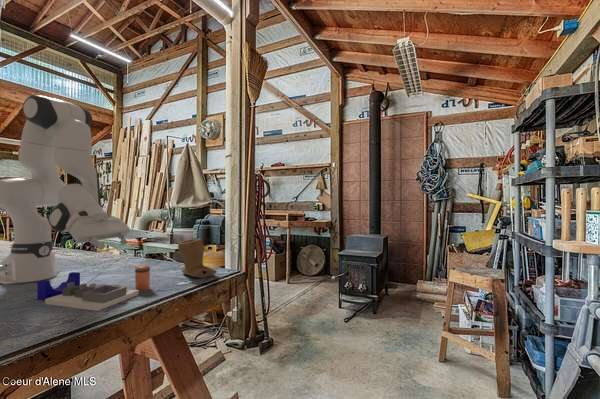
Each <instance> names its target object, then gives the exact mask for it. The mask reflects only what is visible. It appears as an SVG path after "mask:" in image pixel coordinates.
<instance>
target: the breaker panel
mask: <svg viewBox="0 0 600 399" xmlns="http://www.w3.org/2000/svg"><path fill="white" fill-rule="evenodd" d="M136 296H139V290H135V289H133V288H132V289H131V288H128V287H127V286H124V285H121V284H115V285H109V284H102V285H97V283H95V282H92V283H89V284H88V285H87V283H82V284H81V283H80V285H79V286H75V282H71V283H68V284H67V288H64V289H62V294H60V295H57V296H54V297H50V298H47V299H45V301H44V305H49V306H55V307H56V306H58V307H64V308H71V309H80V310H81V309H82V310H86V311H87V310H88V311H95V312H99V311H101V310H103V309H107V308H108V307H112V306H114V305H116V304H119V303H122V302H123V301H127V300H128V299H131V298H134V297H136Z"/></svg>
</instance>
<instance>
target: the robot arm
mask: <svg viewBox="0 0 600 399" xmlns="http://www.w3.org/2000/svg"><path fill="white" fill-rule="evenodd" d="M22 113H23V114H22V115H23V116H24V117H25V119H26V121H25V123H24V125H23V129H22V133H21V138H20V143H19V152H18V161H19V163H20V164H21V166H23V167H24V168H26V169H28V170H29V171H30V173H31V178H22V177H21V178H20V177H12V178H11V177H10V178H3V179H0V208H1V209H2V210H4V211H5V212H6V213H7V215H8V216H9V218H10V219H11V222H12V226H13V228H12V229H13V244H10V245H9V246H10V247H9V249H10V254H8V255H7V256H6V257H5V258H4V259H2V260H1V261H0V284H3V285H14V284H22V283H32V282H37V281H41V280H48V279H52V278H54V277H56V276H57V275H58V274H59V273H60V271H59V269H57V262H56V256H55V253H53V249H54V248H53V247H54V243H53V240H52V229H53V230H54V231H55V232H57V233H68V232H69V234H70V235H71V237H72V238H73V239H74V241H75V242H77V243H79V244H82V243H88V242H89V243H90V244H91V245H92V246H95V247H96V248H97V249H98V250H104V249H105V248H106V244H105V243H104V242H101V241H102V240H108V239H116V238H117V239H120V241H119V244H120V245H121V246H126V245H127V244H128V241H127V239H126V236H127V235H128V234H129V233H130V230H131V228H130V227H129V225H127V223H125V221H123V219H121V218H120V217H115V216H114V215H112V216H109V215H108V214H107V213H106V211H105V210H104V209H103V207H102V200H101V198H102V197H101V184H100V176H99V171H98V169H97V167H95V165H94V163H93V158H92V150H93V145H92V144H93V140H92V132H91V131H92V130H91V127H92V124H93V115H92V113H91V112H90V111H89V110H88V109H86V108H85V107H83V106H81V105H76V104H74V103H71V102H69V101H66V100H60V99H57V98H52V97H48V96H45V95H39V94H37V95H36V94H35V95H33V94H32V95H30V96H27V98H25V99H24V102H23V104H22ZM57 167H58V168H59V169H60V170H61V171H63V172H64V173H66V174H69V175H71V176H73V177H75V178H76V179H78V180H79V181H80V182H81V184H80V183H68V184H66V183H65V182H64V181H63V180H62V179H61V177H60V176H59V174H58V170H57ZM54 206H55V207H54ZM37 207H39V208H41V207H54V208H53V209H52V210H51V211H50V212H49V214H48V216H47V218H46V217H44V216H42V215H40V213H39V212H38V208H37Z"/></svg>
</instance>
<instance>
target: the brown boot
mask: <svg viewBox="0 0 600 399" xmlns="http://www.w3.org/2000/svg"><path fill="white" fill-rule="evenodd" d="M177 245H178V247H177V248H178V253H179V255H180V257H181V259H182V261H183V264H184V268H183V269H181V273H183V274H185V275H188V276H191V277H194V278H200V279H202V278H203V279H204V278H208V277H209V278H210V277H211V276H213V275H216V274H217V270H216V269H213V268H211V267H207V266H205V265H204V251H205V250H204V241H203V240H202V239H201V238H192V239H187V240H182V241H180V242H178V244H177Z"/></svg>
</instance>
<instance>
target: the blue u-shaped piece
mask: <svg viewBox="0 0 600 399" xmlns="http://www.w3.org/2000/svg"><path fill="white" fill-rule="evenodd" d="M36 282H37V283H36V284H37V285H36V289H37V290H36V291H37V292H36V293H37V294H36V295H37V296H36V297H37V301H44V302H45V299H47V298H50V297H54V296H57V295H60V294H62V289H64V288H67V284H68V283H71V282H75V286H79V285H81V272H78V271H77V272H76V271H75V272H74V271H72V272H71V271H70V272H69V273H68V276H67V280H66V281H65V280H64V281H62V282H61V284H60V285H58V286H57V287H56V288H53V287H52V285H51V281H50V280H48V279H44V280H39V281H36Z"/></svg>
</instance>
